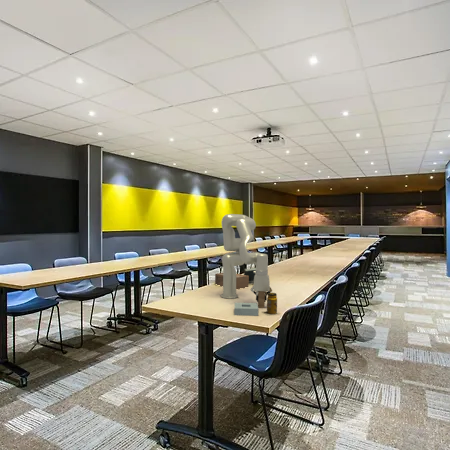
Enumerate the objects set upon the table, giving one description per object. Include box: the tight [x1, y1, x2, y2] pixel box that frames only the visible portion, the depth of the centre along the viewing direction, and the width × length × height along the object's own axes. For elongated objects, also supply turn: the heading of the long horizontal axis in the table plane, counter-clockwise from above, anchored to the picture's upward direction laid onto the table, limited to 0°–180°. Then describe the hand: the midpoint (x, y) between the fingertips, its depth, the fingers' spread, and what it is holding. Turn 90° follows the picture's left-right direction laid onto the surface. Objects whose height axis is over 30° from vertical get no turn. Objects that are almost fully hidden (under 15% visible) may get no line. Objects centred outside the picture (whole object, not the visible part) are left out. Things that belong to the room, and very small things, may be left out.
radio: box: [243, 267, 256, 285], centre depth 298 cm, size 23×9×15 cm, turn 101°
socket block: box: [233, 302, 259, 317], centre depth 204 cm, size 14×14×4 cm
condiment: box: [261, 292, 280, 316], centre depth 202 cm, size 7×8×12 cm
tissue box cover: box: [214, 272, 249, 290], centre depth 285 cm, size 26×14×10 cm, turn 43°
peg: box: [257, 291, 266, 309], centre depth 216 cm, size 4×4×12 cm
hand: (261, 301), depth 216 cm, fingers closed on peg, 4 cm apart
